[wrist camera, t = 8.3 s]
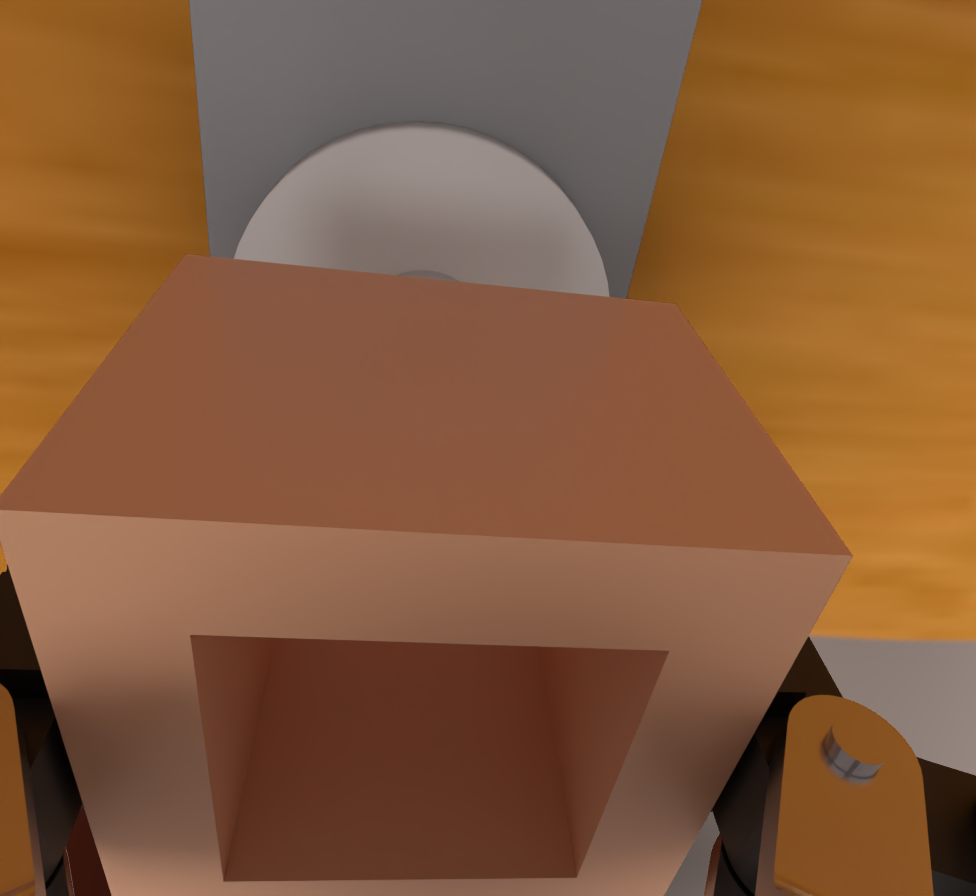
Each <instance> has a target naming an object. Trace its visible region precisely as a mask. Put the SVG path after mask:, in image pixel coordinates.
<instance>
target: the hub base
mask: <svg viewBox="0 0 976 896" xmlns="http://www.w3.org/2000/svg"><path fill="white" fill-rule="evenodd" d="M189 3H190V15H191V28H192V40H193V52H194V65H195V77H196V89H197V102H198V114H199V126H200V139H201V151H202V163H203V176H204V188H205V201H206V213H207V225H208V238H209V250H210V256H211V257H221V258H231V259H241V260H251V261H260V262H270V263H280V264H290V265H300V266H310V267H320V268H329V269H339V270H349V271H359V272H369V273H379V274H389V275H399V276H408V277H418V278H428V279H438V280H448V281H458V282H468V283H477V284H487V285H497V286H507V287H517V288H527V289H537V290H546V291H556V292H566V293H576V294H586V295H596V296H606V297H615V298H625V299H626V298H627V294H628V290H629V287H630V283H631V279H632V275H633V271H634V267H635V263H636V259H637V255H638V251H639V247H640V243H641V239H642V235H643V232H644V228H645V224H646V220H647V216H648V212H649V208H650V204H651V200H652V196H653V192H654V188H655V184H656V180H657V177H658V173H659V169H660V165H661V161H662V157H663V153H664V149H665V145H666V141H667V137H668V133H669V129H670V125H671V122H672V118H673V114H674V110H675V106H676V102H677V98H678V94H679V90H680V86H681V82H682V78H683V74H684V70H685V67H686V63H687V59H688V55H689V51H690V47H691V43H692V39H693V35H694V31H695V27H696V23H697V19H698V15H699V12H700V8H701V4H702V0H189Z"/></svg>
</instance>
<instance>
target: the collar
mask: <svg viewBox="0 0 976 896" xmlns="http://www.w3.org/2000/svg"><path fill="white" fill-rule="evenodd" d="M0 542H1V545H2V548H3V552H4V555H5V558H6V561H7V564H8V567H9V571H10V574H11V577H12V580H13V583H14V586H15V590H16V593H17V596H18V599H19V602H20V605H21V609H22V612H23V615H24V618H25V621H26V625H27V628H28V631H29V634H30V637H31V640H32V644H33V647H34V650H35V653H36V656H37V659H38V663H39V666H40V669H41V672H42V675H43V678H44V682H45V685H46V688H47V691H48V694H49V698H50V701H51V704H52V707H53V710H54V713H55V717H56V720H57V723H58V726H59V729H60V732H61V736H62V739H63V742H64V745H65V748H66V751H67V755H68V758H69V761H70V764H71V767H72V770H73V774H74V777H75V780H76V783H77V786H78V790H79V793H80V796H81V799H82V802H83V805H84V808H85V812H86V815H87V818H88V821H89V824H90V827H91V830H92V834H93V837H94V840H95V843H96V846H97V850H98V853H99V856H100V859H101V862H102V866H103V869H104V872H105V875H106V878H107V882H108V885H109V888H110V891H111V894H112V896H664V894H665V892H666V891H667V889H668V887H669V885H670V883H671V882H672V880H673V878H674V876H675V874H676V873H677V871H678V869H679V867H680V865H681V864H682V862H683V860H684V858H685V856H686V855H687V853H688V851H689V849H690V848H691V846H692V844H693V842H694V840H695V839H696V837H697V835H698V833H699V831H700V830H701V828H702V826H703V824H704V822H705V821H706V819H707V817H708V815H709V813H710V812H711V810H712V808H713V806H714V804H715V803H716V801H717V799H718V797H719V795H720V794H721V792H722V790H723V788H724V787H725V785H726V783H727V781H728V779H729V778H730V776H731V774H732V772H733V770H734V769H735V767H736V765H737V763H738V761H739V760H740V758H741V756H742V754H743V752H744V751H745V749H746V747H747V745H748V743H749V742H750V740H751V738H752V736H753V734H754V733H755V731H756V729H757V727H758V726H759V724H760V722H761V720H762V718H763V717H764V715H765V713H766V711H767V709H768V708H769V706H770V704H771V702H772V700H773V699H774V697H775V695H776V693H777V691H778V690H779V688H780V686H781V684H782V682H783V681H784V679H785V677H786V675H787V673H788V672H789V670H790V668H791V666H792V665H793V663H794V661H795V659H796V657H797V656H798V654H799V652H800V650H801V648H802V647H803V645H804V643H805V641H806V639H807V638H808V636H809V634H810V632H811V630H812V629H813V627H814V625H815V623H816V621H817V620H818V618H819V616H820V614H821V612H822V611H823V609H824V607H825V605H826V604H827V602H828V600H829V598H830V596H831V595H832V593H833V591H834V589H835V587H836V586H837V584H838V582H839V580H840V578H841V577H842V575H843V573H844V571H845V569H846V568H847V566H848V564H849V562H850V560H851V559H852V557H853V555H852V554H851V552H850V551H849V549H848V548H847V547H846V545H845V544H844V542H843V541H842V539H841V538H840V537H839V535H838V534H837V532H836V531H835V529H834V528H833V527H832V525H831V524H830V522H829V521H828V520H827V518H826V517H825V515H824V514H823V512H822V511H821V510H820V508H819V507H818V505H817V504H816V502H815V501H814V500H813V498H812V497H811V495H810V494H809V492H808V491H807V490H806V488H805V487H804V485H803V484H802V482H801V481H800V480H799V478H798V477H797V475H796V474H795V473H794V471H793V470H792V468H791V467H790V465H789V464H788V463H787V461H786V460H785V458H784V457H783V455H782V454H781V453H780V451H779V450H778V448H777V447H776V445H775V444H774V443H773V441H772V440H771V438H770V437H769V436H768V434H767V433H766V431H765V430H764V428H763V427H762V426H761V424H760V423H759V421H758V420H757V418H756V417H755V416H754V414H753V413H752V411H751V410H750V408H749V407H748V406H747V404H746V403H745V401H744V400H743V398H742V397H741V396H740V394H739V393H738V391H737V390H736V389H735V387H734V386H733V384H732V383H731V381H730V380H729V379H728V377H727V376H726V374H725V373H724V371H723V370H722V369H721V367H720V366H719V364H718V363H717V361H716V360H715V359H714V357H713V356H712V354H711V353H710V352H709V350H708V349H707V347H706V346H705V344H704V343H703V342H702V340H701V339H700V337H699V336H698V334H697V333H696V332H695V330H694V329H693V327H692V326H691V324H690V323H689V322H688V320H687V319H686V317H685V316H684V315H683V313H682V312H681V310H680V309H679V307H678V306H677V305H676V304H675V303H665V302H655V301H645V300H635V299H625V298H615V297H606V296H596V295H586V294H576V293H566V292H556V291H546V290H537V289H527V288H517V287H507V286H497V285H487V284H477V283H468V282H458V281H448V280H438V279H428V278H418V277H408V276H399V275H389V274H379V273H369V272H359V271H349V270H339V269H329V268H320V267H310V266H300V265H290V264H280V263H270V262H260V261H251V260H241V259H231V258H221V257H211V256H201V255H191V254H185V255H184V257H183V258H182V259H181V261H180V262H179V263H178V265H177V266H176V267H175V268H174V270H173V271H172V272H171V274H170V275H169V276H168V278H167V279H166V280H165V282H164V283H163V284H162V285H161V287H160V288H159V289H158V291H157V292H156V293H155V295H154V296H153V297H152V299H151V300H150V301H149V302H148V304H147V305H146V306H145V308H144V309H143V310H142V312H141V313H140V314H139V316H138V317H137V318H136V319H135V321H134V322H133V323H132V325H131V326H130V327H129V329H128V330H127V331H126V333H125V334H124V335H123V336H122V338H121V339H120V340H119V342H118V343H117V344H116V346H115V347H114V348H113V349H112V351H111V352H110V353H109V355H108V356H107V357H106V359H105V360H104V361H103V363H102V364H101V365H100V366H99V368H98V369H97V370H96V372H95V373H94V374H93V376H92V377H91V378H90V380H89V381H88V382H87V383H86V385H85V386H84V387H83V389H82V390H81V391H80V393H79V394H78V395H77V397H76V398H75V399H74V400H73V402H72V403H71V404H70V406H69V407H68V408H67V410H66V411H65V412H64V414H63V415H62V416H61V417H60V419H59V420H58V421H57V423H56V424H55V425H54V427H53V428H52V429H51V431H50V432H49V433H48V434H47V436H46V437H45V438H44V440H43V441H42V442H41V444H40V445H39V446H38V448H37V449H36V450H35V451H34V453H33V454H32V455H31V457H30V458H29V459H28V461H27V462H26V463H25V465H24V466H23V467H22V468H21V470H20V471H19V472H18V474H17V475H16V476H15V478H14V479H13V480H12V482H11V483H10V484H9V485H8V487H7V488H6V489H5V491H4V492H3V493H2V495H1V496H0Z"/></svg>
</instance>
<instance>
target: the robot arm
mask: <svg viewBox="0 0 976 896" xmlns="http://www.w3.org/2000/svg"><path fill="white" fill-rule="evenodd" d="M81 808H84V805H83V802H82V799H81V796H80V793H79V790H78V786H77V783H76V780H75V777H74V774H73V770H72V767H71V764H70V761H69V758H68V755H67V751H66V748H65V745H64V742H63V739H62V736H61V732H60V729H59V726H58V723H57V720H56V717H55V713H54V710H53V707H52V704H51V701H50V698H49V694H48V691H47V688H46V685H45V682H44V678H43V675H42V672H41V669H40V666H39V663H38V659H37V656H36V653H35V650H34V647H33V644H32V640H31V637H30V634H29V631H28V628H27V625H26V621H25V618H24V615H23V612H22V609H21V605H20V602H19V599H18V596H17V593H16V590H15V586H14V583H13V580H12V577H11V574H10V571H9V567H8V564H7V571H6V572H2V573H1V575H0V896H74V891H73V884H72V879H71V872H70V866H69V859H68V855H67V851H66V844H67V841H68V839H69V837H70V834H71V831H72V829H73V827H74V824H75V821H76V819H77V816H78V814H79V811H80V809H81ZM711 812H713V814H714V816H715V820H716V823H717V825H718V828H719V831H720V834H719V835H718V837H717V839H716V841H715V842H714V844H713V847H712V850H711V855H710V861H709V867H708V873H707V878H706V884H705V890H704V896H976V776H975V775H972V774H968V773H965V772H962V771H959V770H955V769H952V768H949V767H946V766H943V765H940V764H936V763H933V762H930V761H926V760H924V759H921V758H918V757H916V756H915V754H914V752H913V750H912V748H911V747H910V746H909V744H908V743H907V742H906V740H905V739H904V738H903V737H902V735H900V733H899V732H898V731H897V730H896V729H895V728H894V727H893V726H892V725H891V724H889V723H888V722H887V721H886V720H885V719H883V718H882V717H881V716H879V715H878V714H876V713H875V712H873V711H872V710H870V709H868V708H867V707H865V706H863V705H860V704H858V703H856V702H854V701H851V700H848V699H845V698H843V697H842V695H841V693H840V692H839V690H838V688H837V686H836V684H835V683H834V681H833V679H832V677H831V675H830V674H829V672H828V670H827V668H826V666H825V665H824V663H823V661H822V659H821V658H820V656H819V654H818V652H817V650H816V648H815V647H814V645H813V643H812V641H811V640H810V638H809V636H808V638H807V639H806V641H805V643H804V645H803V647H802V648H801V650H800V652H799V654H798V656H797V657H796V659H795V661H794V663H793V665H792V666H791V668H790V670H789V672H788V673H787V675H786V677H785V679H784V681H783V682H782V684H781V686H780V688H779V690H778V691H777V693H776V695H775V697H774V699H773V700H772V702H771V704H770V706H769V708H768V709H767V711H766V713H765V715H764V717H763V718H762V720H761V722H760V724H759V726H758V727H757V729H756V731H755V733H754V734H753V736H752V738H751V740H750V742H749V743H748V745H747V747H746V749H745V751H744V752H743V754H742V756H741V758H740V760H739V761H738V763H737V765H736V767H735V769H734V770H733V772H732V774H731V776H730V778H729V779H728V781H727V783H726V785H725V787H724V788H723V790H722V792H721V794H720V795H719V797H718V799H717V801H716V803H715V804H714V806H713V808H712V810H711Z"/></svg>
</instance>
